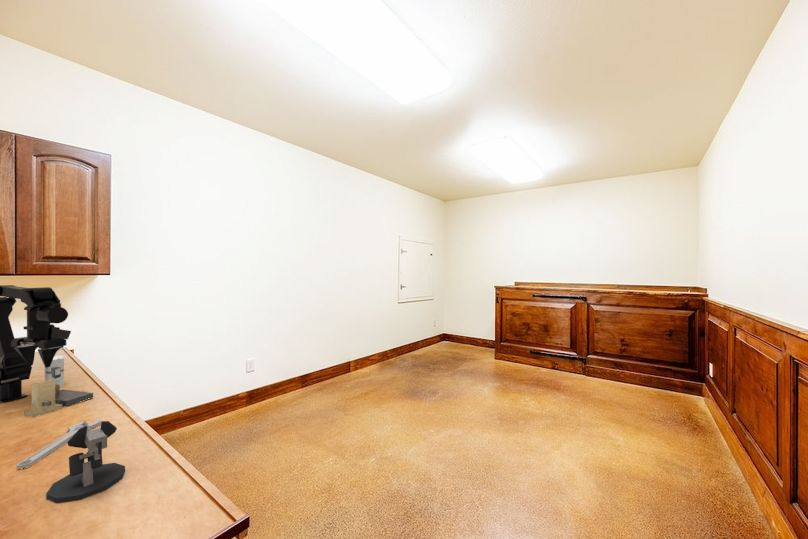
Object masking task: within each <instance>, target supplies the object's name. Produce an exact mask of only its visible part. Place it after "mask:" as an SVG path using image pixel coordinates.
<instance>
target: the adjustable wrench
mask: <svg viewBox="0 0 808 539" xmlns="http://www.w3.org/2000/svg"><path fill="white" fill-rule="evenodd" d="M84 422H85V421H79V422H77V423H75V424H73V425H71V426H70V427H67V429H66V433H65V434H64V435H62V436H60V437H59V438H57V439H56V440H54V441H52V442H51V443H49V444H47V445H45V446H44V447H42V448H41V449H39V450H38V451H36V452H34V453H33V454H31V455H30V456H28V457H26V458H24V459H23V460H21V461H20V462H18V463H17V464H16V469H17V468H18V469H21V468H26V467H28V466H31V465H32V464H34V463H35V462H37V461H38V460H40V459H41V460H43V459H44V458H46V457H48V456H49V455H51V454H52V453H54V452H55V451H56V450H58V449H60V448H61V447H63V446H64V445H66V444H68V443H67V442H68V441H69V440H70V439H71V438H72V436H73V435H74V434H75V433H76V432H77V431H78V430H79V429H80V428H82V427H83V426H82V425H83V424H84ZM101 422H102V419H101V418H95V420H94V421H93V422H90V423H88V425H89V427H90V429H92V430H94V429H96V427H97V428H98V426H99V427H101ZM93 428H94V429H93ZM65 443H66V444H65ZM47 455H48V456H47ZM45 456H46V457H45ZM42 458H43V459H42ZM41 460H40V461H41ZM38 462H39V461H38ZM38 462H37V463H38ZM35 464H36V463H35ZM35 464H34V465H35ZM32 466H33V465H32ZM32 466H31V467H32ZM26 469H27V468H26Z"/></svg>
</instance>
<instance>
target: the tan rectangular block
mask: <svg viewBox="0 0 808 539" xmlns="http://www.w3.org/2000/svg"><path fill="white" fill-rule="evenodd" d="M59 409H60V410H62V409H63V406H62V404H55V380H46V381H45V380H42V381H38V382H35V383H31V408H29V409H27V410H24V414H23V415H25V417H29V416H32V417H31V418H37V417H40V416H39V415H41V416H43V414H44V415H47V414H50V413H53V412H56V411H59ZM55 410H56V411H55ZM49 412H50V413H49ZM46 413H47V414H46ZM36 416H37V417H36Z"/></svg>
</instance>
